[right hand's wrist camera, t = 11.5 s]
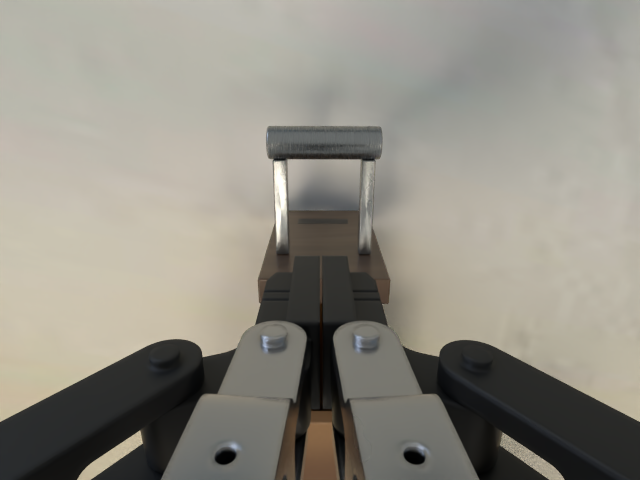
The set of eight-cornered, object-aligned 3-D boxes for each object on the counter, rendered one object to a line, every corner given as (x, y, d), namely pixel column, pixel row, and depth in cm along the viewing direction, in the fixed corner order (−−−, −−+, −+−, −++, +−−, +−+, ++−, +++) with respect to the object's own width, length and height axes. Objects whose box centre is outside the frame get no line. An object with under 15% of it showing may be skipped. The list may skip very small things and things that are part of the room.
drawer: (274, 112, 25) (249, 135, 16) (371, 112, 25) (400, 135, 16) (285, 420, 33) (273, 549, 24) (357, 421, 33) (371, 550, 24)
